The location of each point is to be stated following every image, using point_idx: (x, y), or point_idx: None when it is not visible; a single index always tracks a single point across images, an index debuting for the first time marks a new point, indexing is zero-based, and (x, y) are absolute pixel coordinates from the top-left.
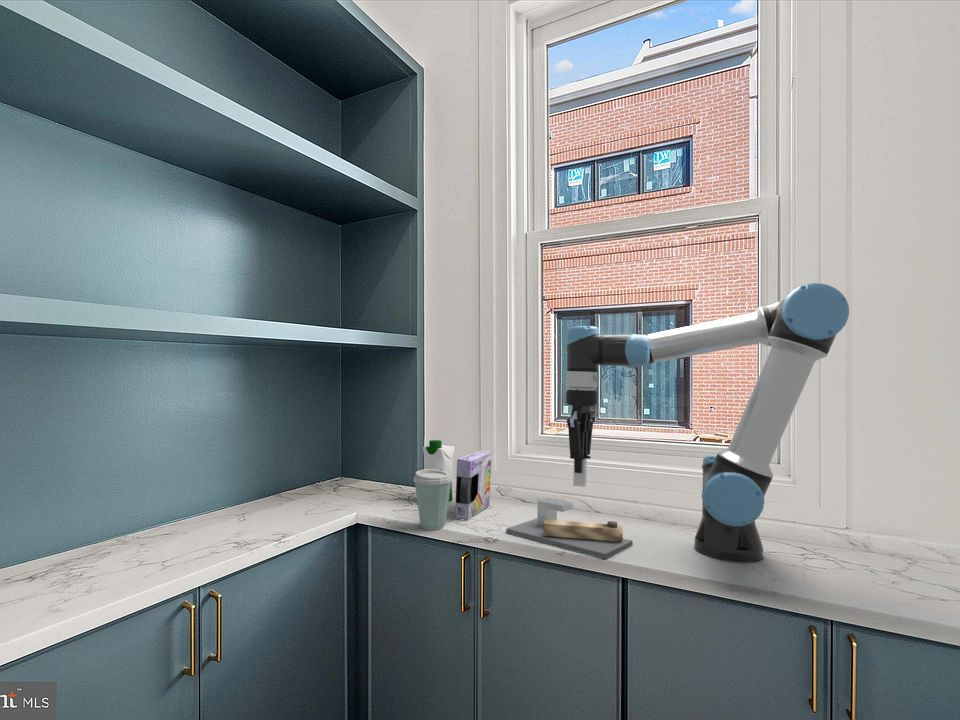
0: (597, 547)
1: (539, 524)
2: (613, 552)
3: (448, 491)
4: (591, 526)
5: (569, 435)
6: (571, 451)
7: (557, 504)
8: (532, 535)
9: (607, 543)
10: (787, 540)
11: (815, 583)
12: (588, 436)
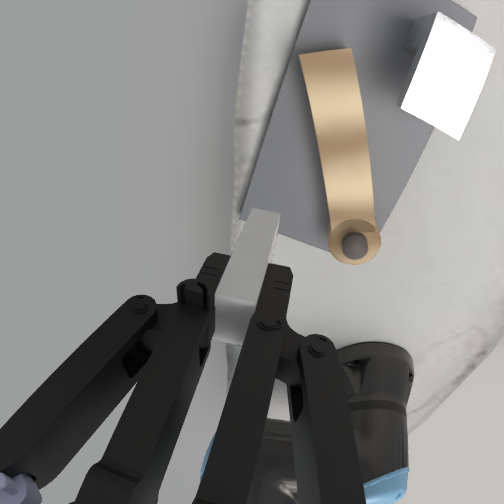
0: (276, 199)
1: (410, 26)
2: None
3: None
4: (333, 193)
5: (32, 398)
6: (111, 325)
7: (413, 87)
8: (302, 24)
9: (318, 216)
10: (428, 411)
11: (278, 407)
12: (297, 479)
